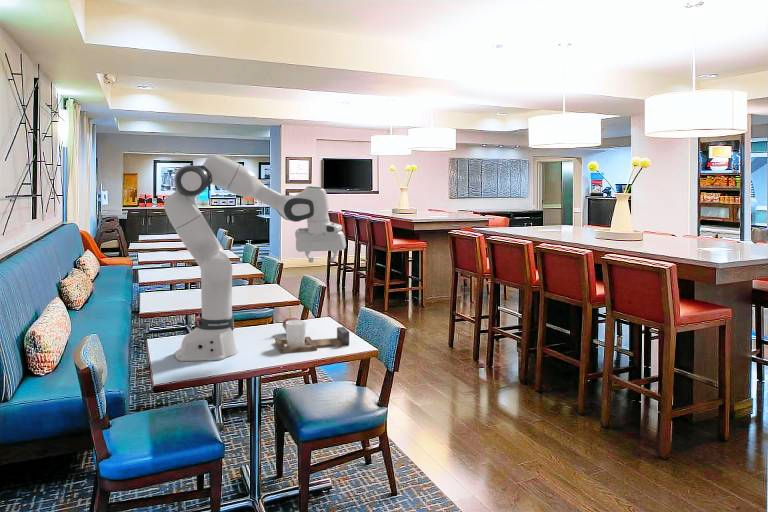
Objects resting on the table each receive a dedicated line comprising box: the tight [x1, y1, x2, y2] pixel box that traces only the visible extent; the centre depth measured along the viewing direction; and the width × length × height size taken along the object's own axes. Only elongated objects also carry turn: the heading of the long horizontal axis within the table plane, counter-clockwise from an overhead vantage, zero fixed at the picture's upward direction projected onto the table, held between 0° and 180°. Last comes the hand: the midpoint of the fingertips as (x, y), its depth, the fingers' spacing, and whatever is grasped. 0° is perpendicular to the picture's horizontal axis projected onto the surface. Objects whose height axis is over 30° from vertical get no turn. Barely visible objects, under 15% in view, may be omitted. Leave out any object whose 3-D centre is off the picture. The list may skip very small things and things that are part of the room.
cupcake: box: [282, 305, 300, 332], centre depth 247 cm, size 9×8×12 cm
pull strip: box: [275, 326, 350, 354], centre depth 233 cm, size 28×14×6 cm, turn 109°
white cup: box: [285, 319, 307, 347], centre depth 230 cm, size 8×8×10 cm
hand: (322, 262), depth 229 cm, fingers open, 8 cm apart
